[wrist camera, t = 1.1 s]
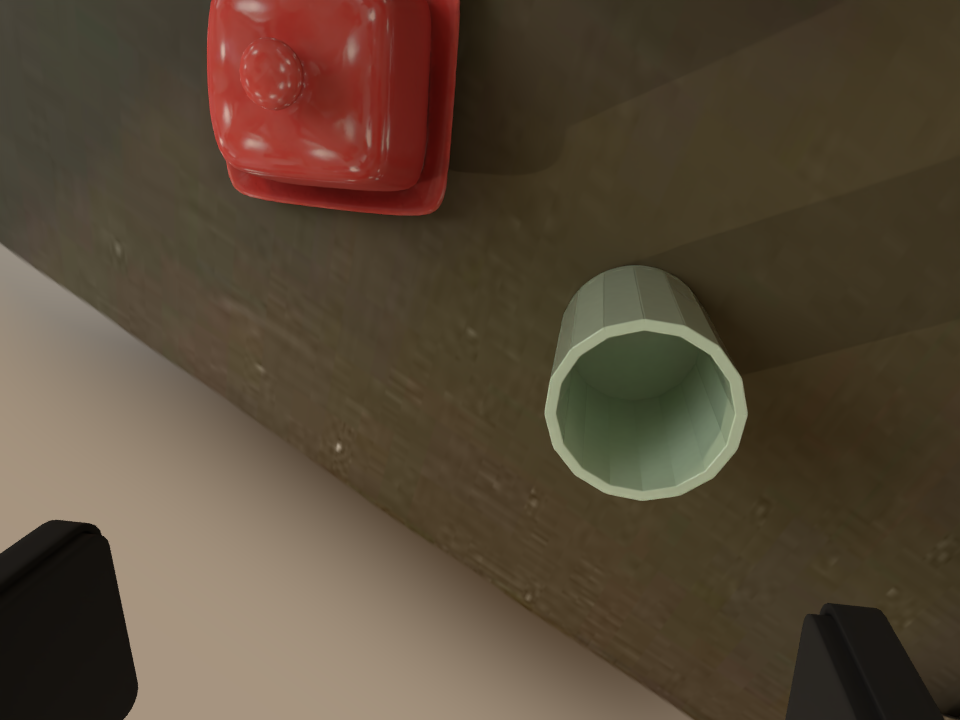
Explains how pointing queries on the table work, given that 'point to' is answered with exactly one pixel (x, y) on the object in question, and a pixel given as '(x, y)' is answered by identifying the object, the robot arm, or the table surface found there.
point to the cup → (643, 387)
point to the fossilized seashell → (949, 717)
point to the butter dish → (335, 100)
